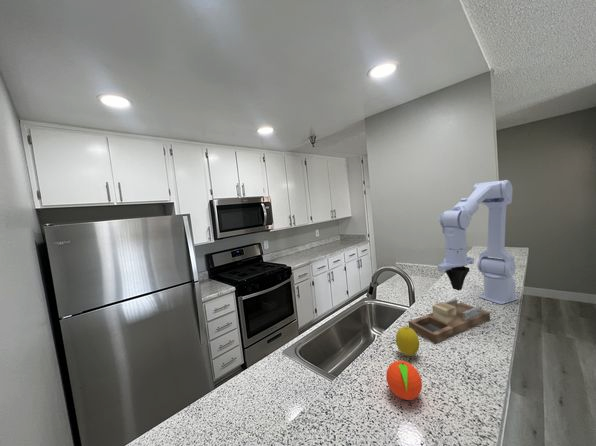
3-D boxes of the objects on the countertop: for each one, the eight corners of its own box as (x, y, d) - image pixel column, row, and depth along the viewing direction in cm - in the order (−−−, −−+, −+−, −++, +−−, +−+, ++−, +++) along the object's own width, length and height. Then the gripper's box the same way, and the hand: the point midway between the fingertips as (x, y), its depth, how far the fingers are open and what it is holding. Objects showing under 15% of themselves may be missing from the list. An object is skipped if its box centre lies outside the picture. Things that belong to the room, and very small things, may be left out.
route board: (461, 309, 83) (461, 302, 83) (490, 319, 75) (489, 312, 75) (408, 329, 74) (408, 321, 74) (435, 343, 66) (434, 335, 65)
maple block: (442, 313, 77) (442, 301, 76) (456, 319, 72) (456, 306, 72) (433, 317, 75) (432, 305, 75) (446, 323, 71) (446, 310, 70)
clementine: (428, 416, 45) (426, 381, 44) (389, 410, 47) (387, 377, 46) (418, 384, 52) (417, 354, 52) (385, 380, 54) (383, 351, 54)
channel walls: (455, 305, 81) (454, 298, 81) (480, 314, 74) (480, 307, 74) (440, 310, 78) (439, 303, 78) (465, 321, 71) (465, 313, 71)
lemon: (422, 363, 59) (421, 332, 58) (399, 362, 60) (397, 332, 59) (416, 349, 64) (414, 321, 63) (394, 348, 65) (393, 321, 65)
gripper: (457, 242, 81) (459, 281, 82) (428, 249, 76) (430, 290, 77) (480, 245, 75) (481, 286, 76) (449, 253, 69) (451, 297, 70)
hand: (457, 289), depth 76 cm, fingers closed
